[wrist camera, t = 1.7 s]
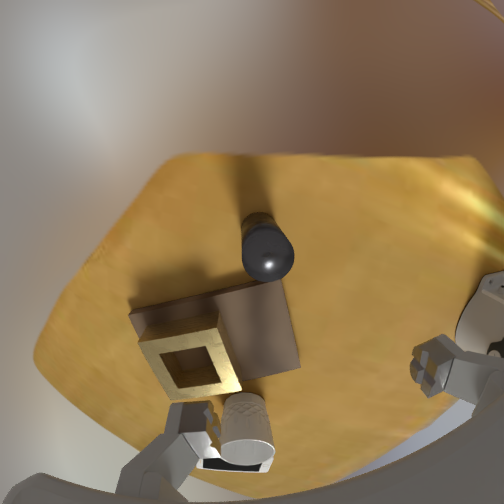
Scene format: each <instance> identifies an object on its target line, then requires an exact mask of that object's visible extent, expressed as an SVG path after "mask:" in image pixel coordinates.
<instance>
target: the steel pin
mask: <svg viewBox="0 0 504 504" xmlns="http://www.w3.org/2000/svg"><path fill="white" fill-rule="evenodd" d="M241 235H242V262H243V266H244V268H245V270H246V272H247V273H248V274H249V275H250V276H251V277H252V278H254V279H256V280H258V281H262V282H273V281H277V280H279V279H281V278H283V277H284V276H285V275H286V274H287V273H288V272H289V271H290V269H291V268H292V265H293V263H294V250H293V247H292V245H291V243H290V242H289V240H288V239H287V237H286V236H285V235H284V233H283V232H282V231H281V229H280V228H279V226H278V225H277V224H276V222H275V221H274V220H273V218H272V217H271V216H269V215H268V214H266V213H263V212H255V213H252V214H250V215H248V216H247V217H246V218H245V220H244V221H243V223H242V227H241Z"/></svg>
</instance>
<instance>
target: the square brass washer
mask: <svg viewBox="0 0 504 504" xmlns="http://www.w3.org/2000/svg"><path fill="white" fill-rule="evenodd" d="M138 345H139V346H140V348H141V350H142V352H143V354H144V356H145V358H146V360H147V361H148V363H149V365H150V367H151V368H152V370H153V372H154V374H155V375H156V377H157V379H158V381H159V382H160V384H161V386H162V387H163V389H164V390H165V392H166V394H167V395H168V397H169V398H170V400H178V399H188V398H196V397H204V396H211V395H218V394H224V393H230V392H236V391H241V390H242V370H241V368H240V365H239V363H238V360H237V357H236V355H235V352H234V349H233V347H232V344H231V341H230V339H229V336H228V333H227V330H226V328H225V325H224V322H223V319H222V317H221V314H220V311H215V312H210V313H206V314H201V315H197V316H192V317H188V318H183V319H178V320H173V321H168V322H163V323H158V324H153V325H148V326H146V328H145V330H144V332H143V334H142V335H141V337H140V339H139V341H138ZM201 346H206V348H207V350H208V352H209V355H210V357H211V359H212V362H213V364H214V365H210V366H205V367H199V368H192V369H186V370H183V369H182V367H181V366H180V364H179V362H178V360H177V358H176V356H175V354H174V352H173V351H179V350H185V349H190V348H196V347H201Z"/></svg>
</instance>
